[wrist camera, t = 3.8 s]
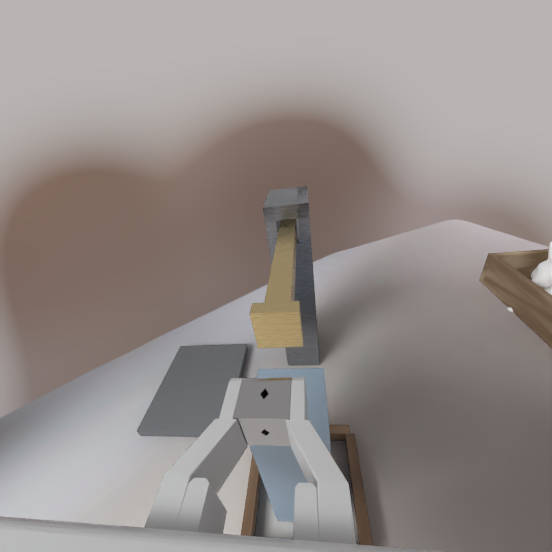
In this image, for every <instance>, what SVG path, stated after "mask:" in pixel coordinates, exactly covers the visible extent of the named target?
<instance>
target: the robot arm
mask: <svg viewBox="0 0 552 552" xmlns="http://www.w3.org/2000/svg"><path fill="white" fill-rule="evenodd" d="M247 445H274V446H291V448H292V451H293V453H294V455H295V457H296V459H297V461H298V463H299V466H300V468H301V470H302V472H303V474H304V476H305V478H306V480H307V483H298V484H297V485H296V487H295V500H294V532H293V539H282V538H269V537H256V536H244V535H231V534H223V530H224V524H225V519H226V513H227V511H226V509H225V507H224V505H223V504H222V502H221V500H220V499H219V497H218V496H217V493H218V491H219V490H220V488H221V487H222V485H223V484H224V482H225V481H226V479H227V477H228V476H229V474H230V473H231V471H232V470H233V468H234V467H235V465H236V464H237V462H238V461H239V459H240V457H241V456H242V454H243V453H244V451H245V450H246V448H247ZM0 552H448V551H436V550H423V549H410V548H397V547H384V546H372V545H359V544H356V538H355V530H354V522H353V514H352V506H351V498H350V490H349V483H348V482H347V480H346V479H345V477H344V475H343V474H342V472H341V470H340V469H339V467H338V466H337V464H336V462H335V461H334V459H333V457H332V456H331V454H330V453H329V451H328V449H327V448H326V446H325V444H324V443H323V441H322V440H321V438H320V436H319V435H318V433H317V431H316V430H315V428H314V427H313V425H312V423H311V422H310V420H308V399H307V389H306V379H305V377H300V378H292V377H283V378H231V380H230V381H229V384H228V387H227V391H226V395H225V398H224V402H223V406H222V409H221V413H220V417H219V419H215V420H214V421H213V422H212V423H211V424H210V425H209V426H208V427H207V428H206V430H205V431H204V432H203V433H202V434H201V435H200V436H199V437H198V438H197V439H196V441H195V442H194V443H193V444H192V445H191V446H190V447H189V448H188V449H187V450H186V452H185V453H184V454H183V455H182V456H181V457H180V458H179V459H178V460H177V462H176V463H175V464H174V465H173V466H172V467H171V468H170V469H169V470H168V471H167V473H166V474H165V475H164V478H163V480H162V483H161V485H160V488H159V491H158V493H157V496H156V498H155V501H154V504H153V506H152V509H151V511H150V514H149V517H148V519H147V522H146V524H145V527H144V528H141V527H129V526H116V525H103V524H90V523H77V522H65V521H52V520H39V519H26V518H13V517H1V516H0Z"/></svg>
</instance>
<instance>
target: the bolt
mask: <svg viewBox="0 0 552 552" xmlns="http://www.w3.org/2000/svg"><path fill="white" fill-rule="evenodd" d="M296 247H297V225H296V219H288V220H281V221H280V226H279V231H278V236H277V241H276V246H275V252H274V257H273V262H272V267H271V272H270V277H269V282H268V287H267V292H266V297H265V302H264V303H252V307H251V311H250V317H251V321H252V325H253V329H254V333H255V337H256V342H257V346H258V348H280V347H303V331H302V321H301V312H300V303H299V301H294V298H295V272H296Z"/></svg>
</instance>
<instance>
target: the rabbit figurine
mask: <svg viewBox="0 0 552 552" xmlns="http://www.w3.org/2000/svg"><path fill="white" fill-rule="evenodd" d="M531 278H532V280H531V281H533V282H534V283H535V284H537V285H538V286H540V287H541V288H542V289H544V290H545V291H546V292H548V293H549V294H551V295H552V241H551V242H550V245H549V252H548V259H547V260H546V261H544V262H541V263H540V264H538V266H537V268H536V269H535V270H534V271H533V272H532V274H531ZM507 310H508V311H511V312H513V309H512V308H511V307H508V308H507Z"/></svg>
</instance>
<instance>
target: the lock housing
mask: <svg viewBox="0 0 552 552" xmlns="http://www.w3.org/2000/svg"><path fill="white" fill-rule="evenodd" d="M263 212H264V218H265V224H266V230H267V236H268V242H269V248H270V255H271V261H272V262H273V257H274V252H275V246H276V241H277V236H278V231H279V226H280V221H281V220H288V219H298V221H296V225H297V247H296V272H295V298H294V301H299V303H300V312H301V321H302V331H303V347H286V353H287V359H288V365H319V350H318V336H317V321H316V306H315V292H314V277H313V263H312V248H311V234H310V219H309V205H308V191H307V186H305V187H296V188H287V189H279V190H271V191H269V194H268V196H267V199H266V201H265V204H264V206H263Z"/></svg>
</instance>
